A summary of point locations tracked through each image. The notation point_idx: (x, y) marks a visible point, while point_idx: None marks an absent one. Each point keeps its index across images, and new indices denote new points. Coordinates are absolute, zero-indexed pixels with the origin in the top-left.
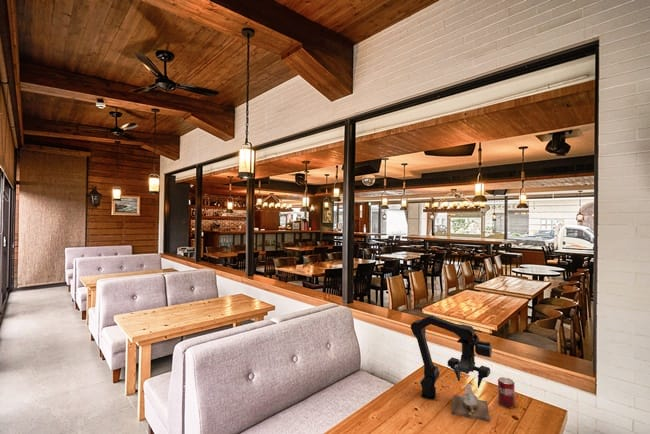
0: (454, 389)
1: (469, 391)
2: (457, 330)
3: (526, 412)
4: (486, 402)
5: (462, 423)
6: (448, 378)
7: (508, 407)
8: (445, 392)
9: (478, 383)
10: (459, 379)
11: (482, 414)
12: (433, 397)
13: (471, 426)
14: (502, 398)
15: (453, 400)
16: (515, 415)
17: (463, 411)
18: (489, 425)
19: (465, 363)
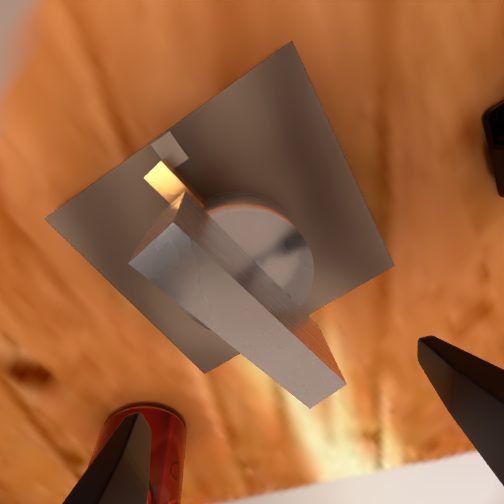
0: (413, 337)
1: (220, 287)
2: None
3: (43, 445)
4: (198, 362)
5: None
6: None
7: (112, 416)
8: (445, 269)
9: (91, 491)
10: (436, 368)
11: (112, 224)
12: (500, 128)
13: (70, 13)
14: None
15: (360, 207)
16: (45, 390)
17: (222, 128)
18: (20, 169)
19: None
